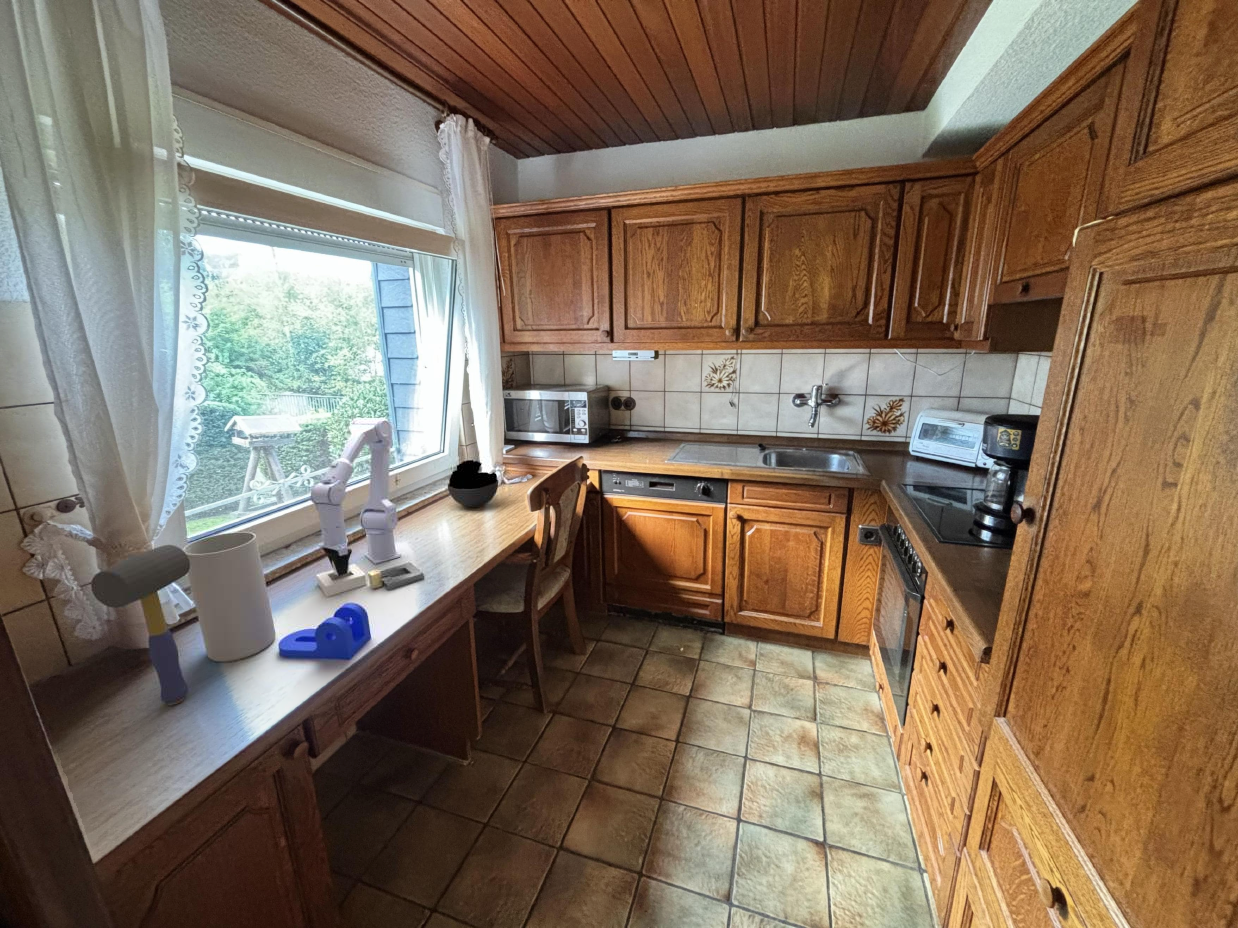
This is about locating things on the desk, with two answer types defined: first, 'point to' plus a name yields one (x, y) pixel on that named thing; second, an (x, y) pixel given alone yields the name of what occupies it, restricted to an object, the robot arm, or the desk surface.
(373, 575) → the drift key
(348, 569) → the metal cylinder
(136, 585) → the rubber mallet
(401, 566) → the socket block
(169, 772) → the desk surface
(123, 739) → the desk surface
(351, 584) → the white square block
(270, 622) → the cylinder vase
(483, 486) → the bowl of black rocks
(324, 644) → the bracket
